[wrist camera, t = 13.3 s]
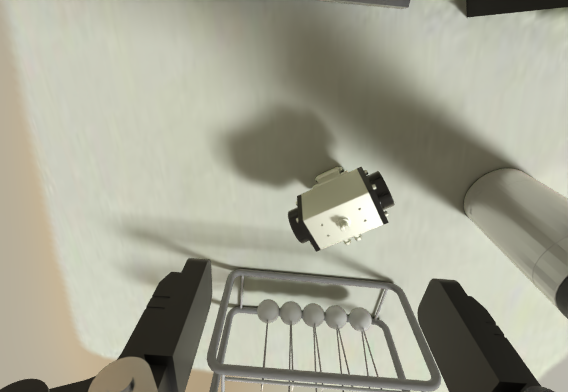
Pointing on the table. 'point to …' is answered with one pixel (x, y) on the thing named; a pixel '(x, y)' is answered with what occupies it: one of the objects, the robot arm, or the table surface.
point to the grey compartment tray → (376, 3)
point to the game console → (510, 6)
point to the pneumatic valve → (340, 207)
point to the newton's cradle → (314, 318)
